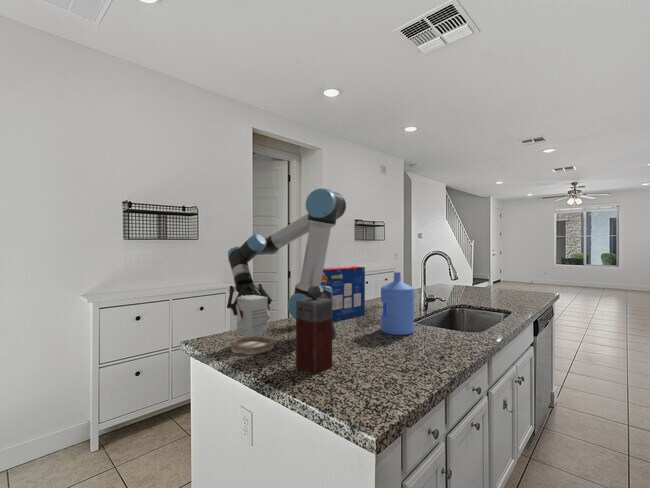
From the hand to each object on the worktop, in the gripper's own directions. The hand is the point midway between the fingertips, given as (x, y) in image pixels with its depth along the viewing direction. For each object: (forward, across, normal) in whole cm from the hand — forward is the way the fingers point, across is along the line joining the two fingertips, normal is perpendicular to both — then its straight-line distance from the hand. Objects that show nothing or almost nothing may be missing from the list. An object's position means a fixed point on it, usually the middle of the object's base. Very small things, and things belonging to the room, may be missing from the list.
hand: (254, 319), depth 138 cm
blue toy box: (-12, -61, -29) cm, 69 cm away
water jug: (+14, -68, -2) cm, 69 cm away
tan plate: (+7, 0, -10) cm, 12 cm away
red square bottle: (+28, -11, +12) cm, 33 cm away
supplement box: (+3, 0, -6) cm, 7 cm away
